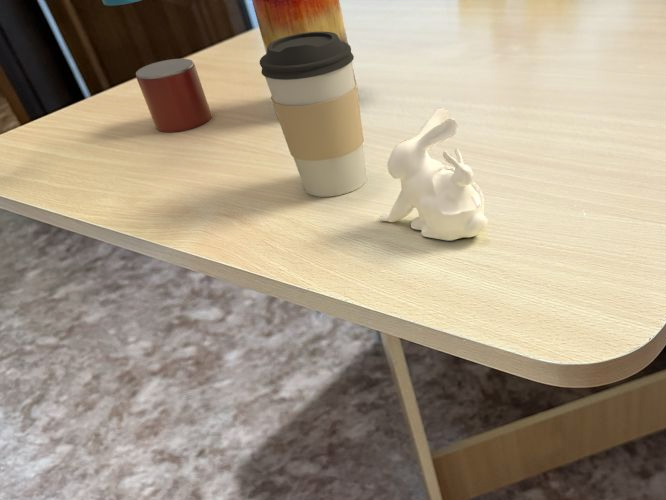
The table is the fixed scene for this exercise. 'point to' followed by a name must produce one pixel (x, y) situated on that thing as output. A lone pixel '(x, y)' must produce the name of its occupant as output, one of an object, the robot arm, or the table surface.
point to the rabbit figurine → (436, 185)
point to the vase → (298, 18)
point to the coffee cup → (318, 110)
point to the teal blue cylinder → (118, 2)
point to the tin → (174, 95)
